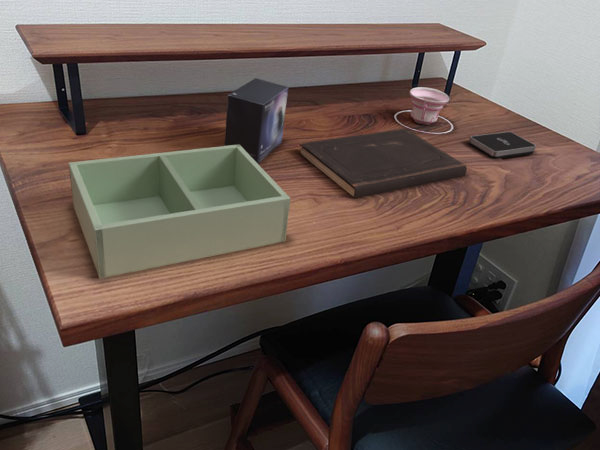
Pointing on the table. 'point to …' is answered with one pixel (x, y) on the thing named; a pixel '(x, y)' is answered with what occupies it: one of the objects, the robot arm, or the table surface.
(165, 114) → the table surface
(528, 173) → the table surface
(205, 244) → the caddy
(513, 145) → the external hard drive
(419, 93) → the teacup
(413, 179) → the hardcover book
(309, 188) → the table surface
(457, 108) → the table surface
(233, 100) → the small box
